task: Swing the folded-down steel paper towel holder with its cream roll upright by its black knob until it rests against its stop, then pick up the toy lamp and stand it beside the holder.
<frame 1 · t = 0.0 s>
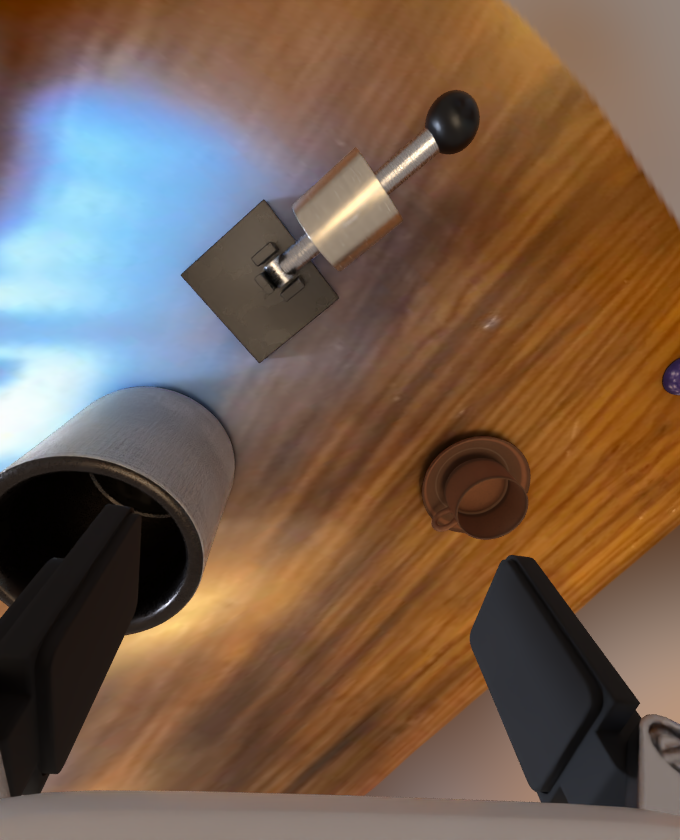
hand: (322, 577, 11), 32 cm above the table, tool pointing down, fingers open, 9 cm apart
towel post: (363, 199, 32), point 5 cm above the table, hinge at -80.0°
toy lamp: (677, 374, 45), on the table
towel base: (281, 269, 38), on the table
planter: (159, 455, 44), on the table
cup and saucer: (469, 477, 48), on the table
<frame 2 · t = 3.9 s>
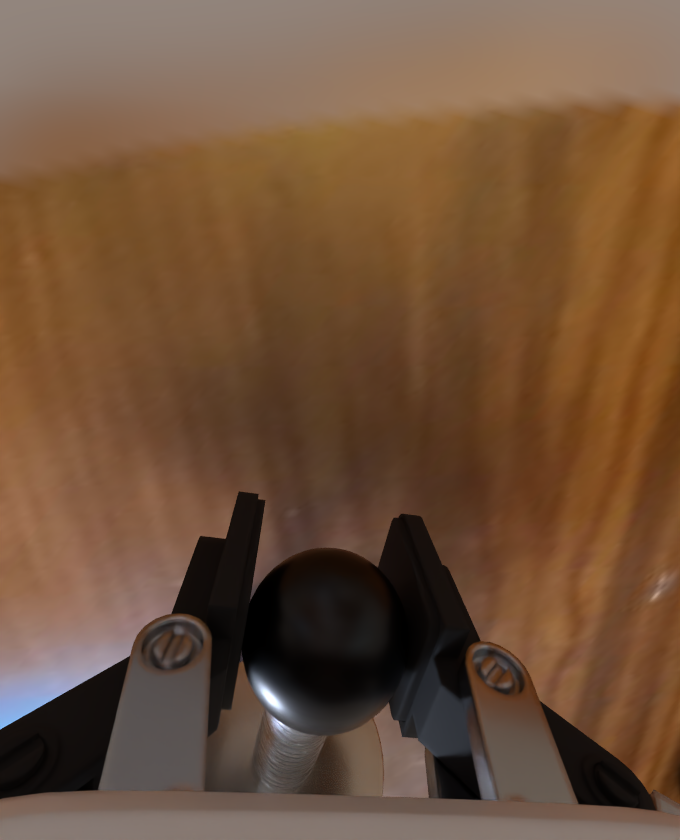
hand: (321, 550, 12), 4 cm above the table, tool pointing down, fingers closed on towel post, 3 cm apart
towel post: (277, 773, 13), point 5 cm above the table, hinge at -80.0°, touching gripper
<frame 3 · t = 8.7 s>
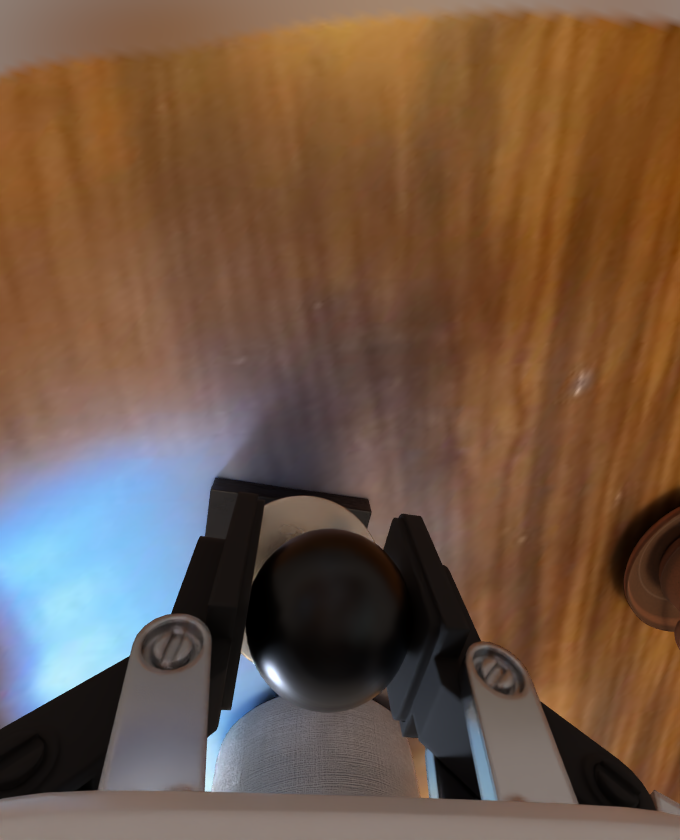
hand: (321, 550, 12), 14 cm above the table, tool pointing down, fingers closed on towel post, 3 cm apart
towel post: (298, 576, 16), point 11 cm above the table, hinge at -35.5°, touching gripper
towel base: (287, 520, 28), on the table
planter: (314, 742, 37), on the table
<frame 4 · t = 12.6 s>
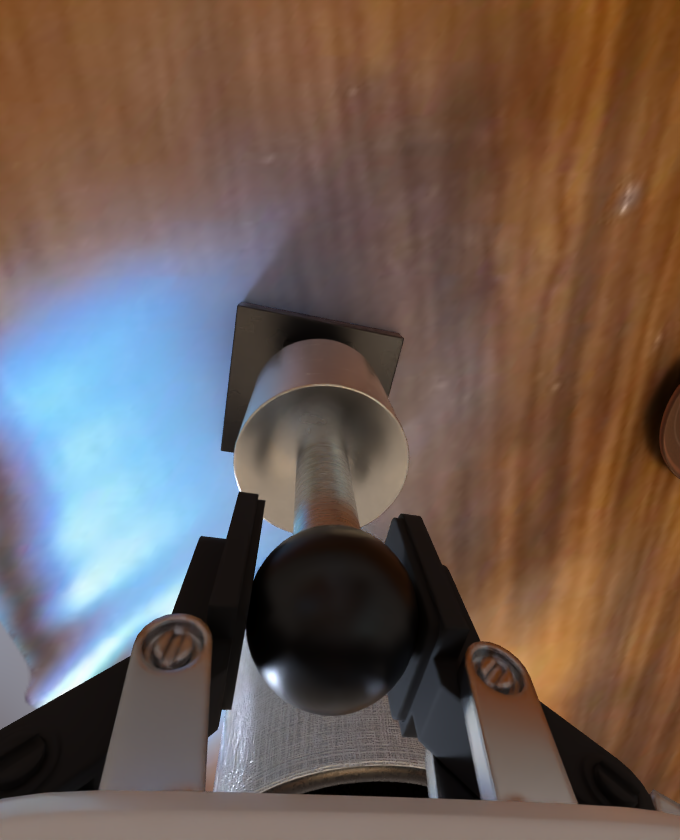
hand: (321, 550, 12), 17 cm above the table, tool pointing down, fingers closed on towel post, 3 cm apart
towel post: (321, 445, 16), point 12 cm above the table, hinge at 1.0°, touching gripper, towel base
towel base: (315, 356, 27), on the table
planter: (336, 613, 36), on the table
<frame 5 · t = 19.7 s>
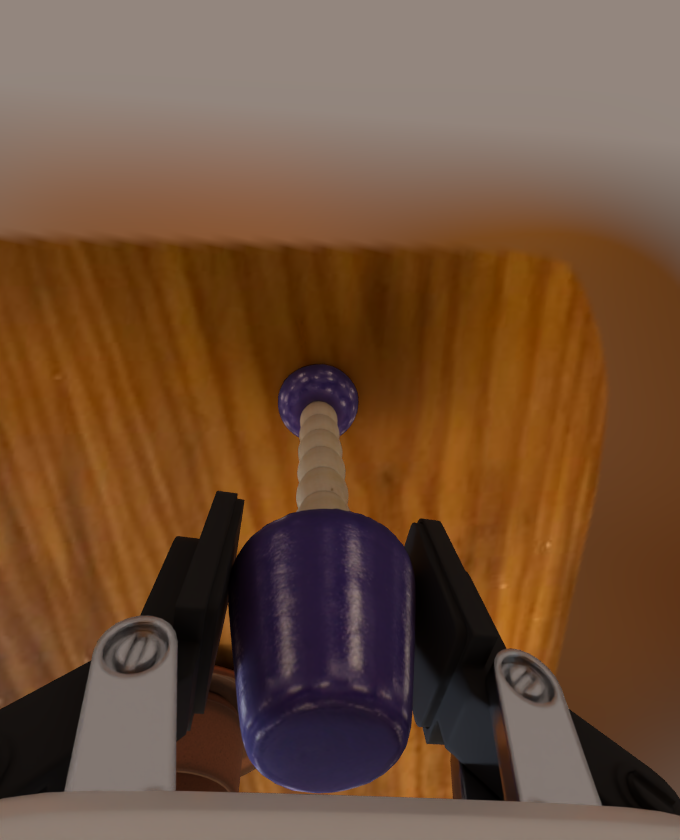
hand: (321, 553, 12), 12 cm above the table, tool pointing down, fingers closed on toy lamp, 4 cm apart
toy lamp: (313, 405, 23), on the table, touching gripper
cup and saucer: (198, 702, 31), on the table
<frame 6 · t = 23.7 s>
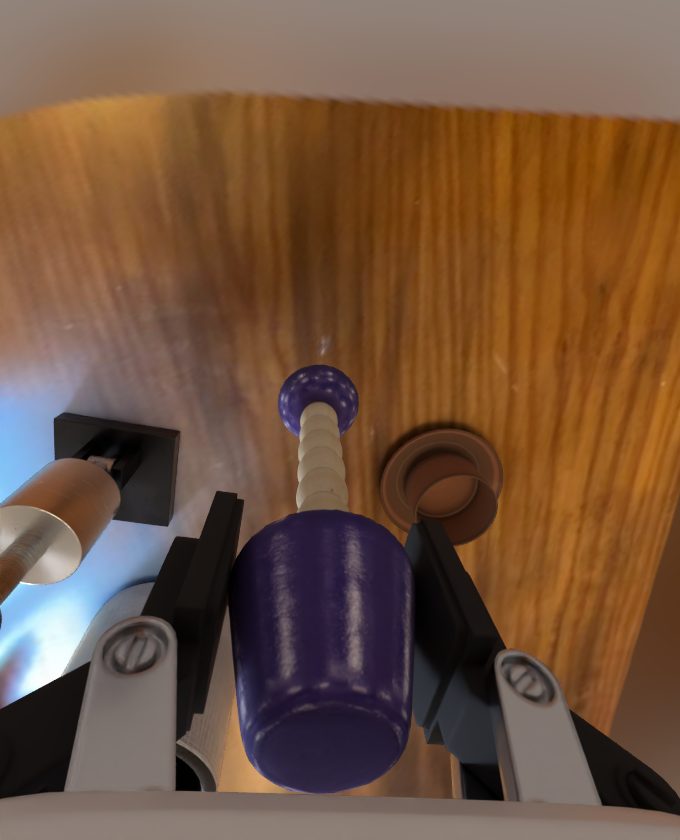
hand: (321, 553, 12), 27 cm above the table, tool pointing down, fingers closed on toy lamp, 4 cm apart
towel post: (43, 531, 27), point 12 cm above the table, hinge at 0.7°
toy lamp: (313, 405, 23), point 15 cm above the table, touching gripper
towel base: (121, 446, 39), on the table
planter: (172, 629, 47), on the table
cup and saucer: (435, 476, 43), on the table
when the fingers open (12 cm above the table, at t = 27.8 s): toy lamp stays where it is, on the table.
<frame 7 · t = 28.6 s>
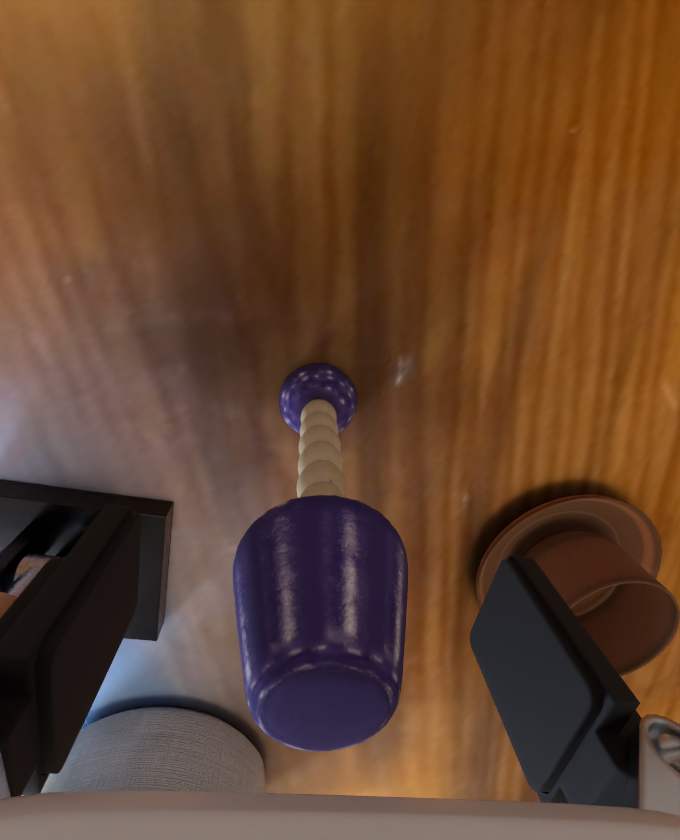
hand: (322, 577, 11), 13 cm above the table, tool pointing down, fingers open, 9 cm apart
toy lamp: (313, 403, 24), on the table
towel base: (83, 526, 25), on the table
planter: (166, 761, 34), on the table
cup and saucer: (551, 556, 29), on the table
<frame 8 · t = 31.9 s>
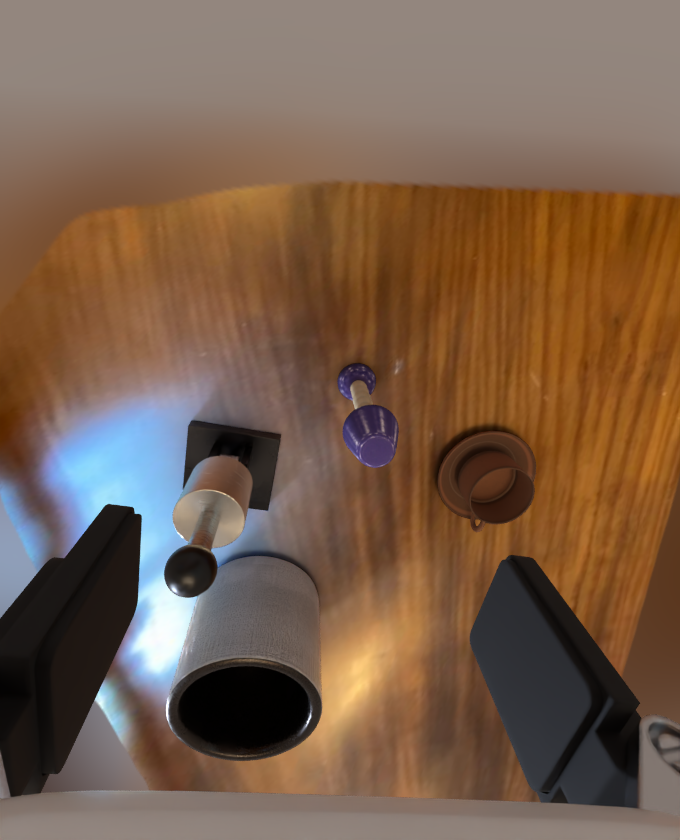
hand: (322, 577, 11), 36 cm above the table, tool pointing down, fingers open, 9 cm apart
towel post: (212, 509, 37), point 12 cm above the table, hinge at 0.7°
toy lamp: (353, 383, 47), on the table
towel base: (234, 447, 49), on the table
planter: (260, 596, 58), on the table
cup and saucer: (480, 469, 53), on the table
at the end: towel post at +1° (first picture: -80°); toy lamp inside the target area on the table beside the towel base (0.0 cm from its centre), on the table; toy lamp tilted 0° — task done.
